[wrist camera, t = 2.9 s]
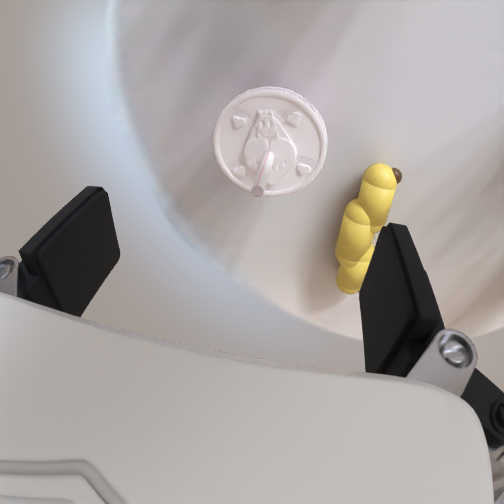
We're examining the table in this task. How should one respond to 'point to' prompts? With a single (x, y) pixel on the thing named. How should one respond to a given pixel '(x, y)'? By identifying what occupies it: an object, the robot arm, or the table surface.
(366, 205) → the yellow lumpy bar
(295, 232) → the table surface
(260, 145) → the smoothie
